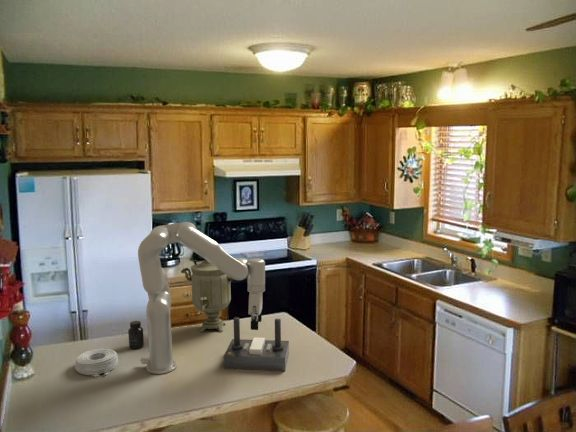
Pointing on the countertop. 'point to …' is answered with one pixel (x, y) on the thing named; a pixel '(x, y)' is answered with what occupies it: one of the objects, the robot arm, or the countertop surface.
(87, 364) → the cable
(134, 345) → the supplement bottle
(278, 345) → the black toggle lever
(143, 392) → the countertop surface
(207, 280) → the samovar
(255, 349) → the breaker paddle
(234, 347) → the dark grey upright post
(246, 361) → the gray switch control box
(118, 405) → the countertop surface
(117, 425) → the countertop surface
